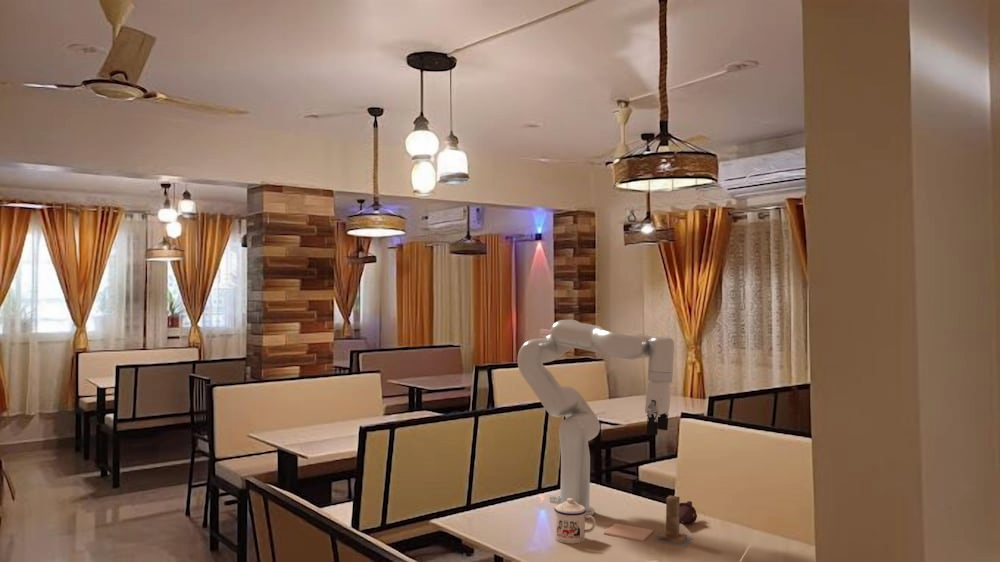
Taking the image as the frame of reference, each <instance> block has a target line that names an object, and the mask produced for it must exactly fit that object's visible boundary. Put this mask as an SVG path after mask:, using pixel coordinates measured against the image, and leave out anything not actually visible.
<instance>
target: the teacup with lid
mask: <svg viewBox="0 0 1000 562" xmlns="http://www.w3.org/2000/svg"><path fill="white" fill-rule="evenodd" d="M554 511H555V514H554V515H555V516H554V517H555V518H554V519H555V520H554V538H555V540H557V541H558V542H560V543H563V544H571V545H573V544H581V543H582V542H584V541H585V539H586V538H585V536H586V534H588V533H591V532H593V531H594V529H595V528H596V523H597V521H596V518H595V517H594V516H593V515H592V516H591V515H585V512H586V510H585V507H584V506H582V505H579V504H578V503H576V502H574V499H572V498H568V499H567V501H566V502H564V503H562V504H558V505H557V504H556V505H555V507H554ZM586 519H590V520H592V527H591V528H588V529H586V527H585V526H586Z"/></svg>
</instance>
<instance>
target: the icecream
mask: <svg viewBox="0 0 1000 562" xmlns="http://www.w3.org/2000/svg"><path fill="white" fill-rule="evenodd" d="M697 518H698V513H697V510H696V508H695V507H694V506H693V502H692V501H690V500H689V501H686V502H679V524H684V525H692V524H693V523H695V522H696V521H697Z"/></svg>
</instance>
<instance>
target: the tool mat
mask: <svg viewBox="0 0 1000 562" xmlns="http://www.w3.org/2000/svg"><path fill="white" fill-rule="evenodd" d="M661 532H662V531H660V532H659V533H657V535H655V537H654V538H652V540H651V542H655V543H660V544H666V545H671V546H677V547H682V548H687V547H688V546H689V545H690V543H691V542H692V541H693V540H694V537H689V536H687V539H686V540H685V541H684V543H683V544H679V543H674V542H668V541H663V540H658V535H659V534H660V533H661Z"/></svg>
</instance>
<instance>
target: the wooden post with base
mask: <svg viewBox="0 0 1000 562" xmlns="http://www.w3.org/2000/svg"><path fill="white" fill-rule="evenodd" d="M680 501H681V500H680V496H677V495H676V496H675V495H668V496H667V497H666V502H665V503H666V507H665V508H666V510H665V511H666V512H665V514H666V516H665V530H662V531H660V532H661V533H660V532H659V533H660V534H659V533H658V534H659V535H658V534H657V535H658V540H663V541H668V542H674V543H679V544H683V543H684V541H685V540H686V539H687V537H688V535H687V534H683V533H680V523H679V503H680Z"/></svg>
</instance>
